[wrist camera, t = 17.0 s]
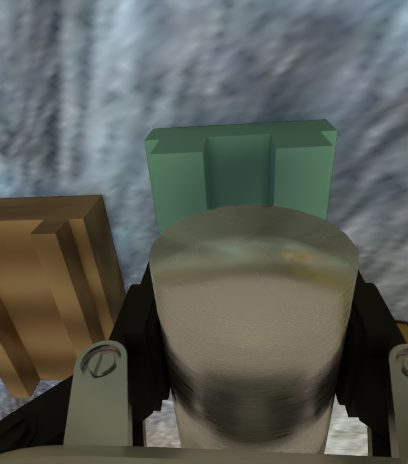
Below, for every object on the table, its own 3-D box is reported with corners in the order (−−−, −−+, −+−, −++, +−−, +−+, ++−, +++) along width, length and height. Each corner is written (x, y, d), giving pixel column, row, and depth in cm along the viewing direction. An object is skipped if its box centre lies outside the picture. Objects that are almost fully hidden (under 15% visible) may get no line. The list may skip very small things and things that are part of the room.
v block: (308, 280, 30) (323, 332, 25) (175, 282, 31) (164, 331, 26) (325, 119, 23) (352, 145, 18) (153, 128, 24) (132, 155, 19)
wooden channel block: (138, 348, 36) (123, 400, 31) (33, 347, 38) (1, 397, 32) (101, 195, 27) (71, 233, 22) (-37, 199, 28) (-96, 237, 23)
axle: (293, 452, 17) (324, 591, 13) (195, 456, 17) (193, 595, 13) (320, 200, 11) (404, 309, 6) (160, 210, 11) (131, 323, 6)
